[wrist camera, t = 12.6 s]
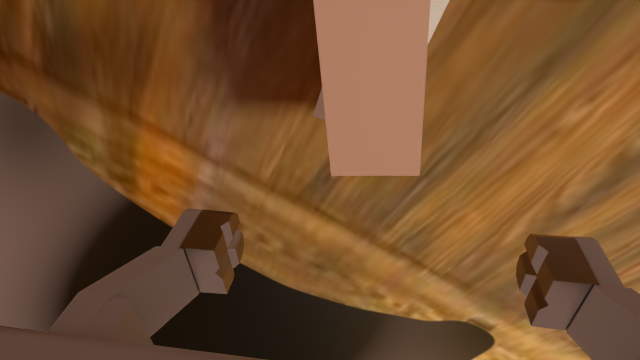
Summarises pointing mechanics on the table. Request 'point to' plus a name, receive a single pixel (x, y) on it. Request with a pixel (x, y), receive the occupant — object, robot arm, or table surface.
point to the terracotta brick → (373, 83)
